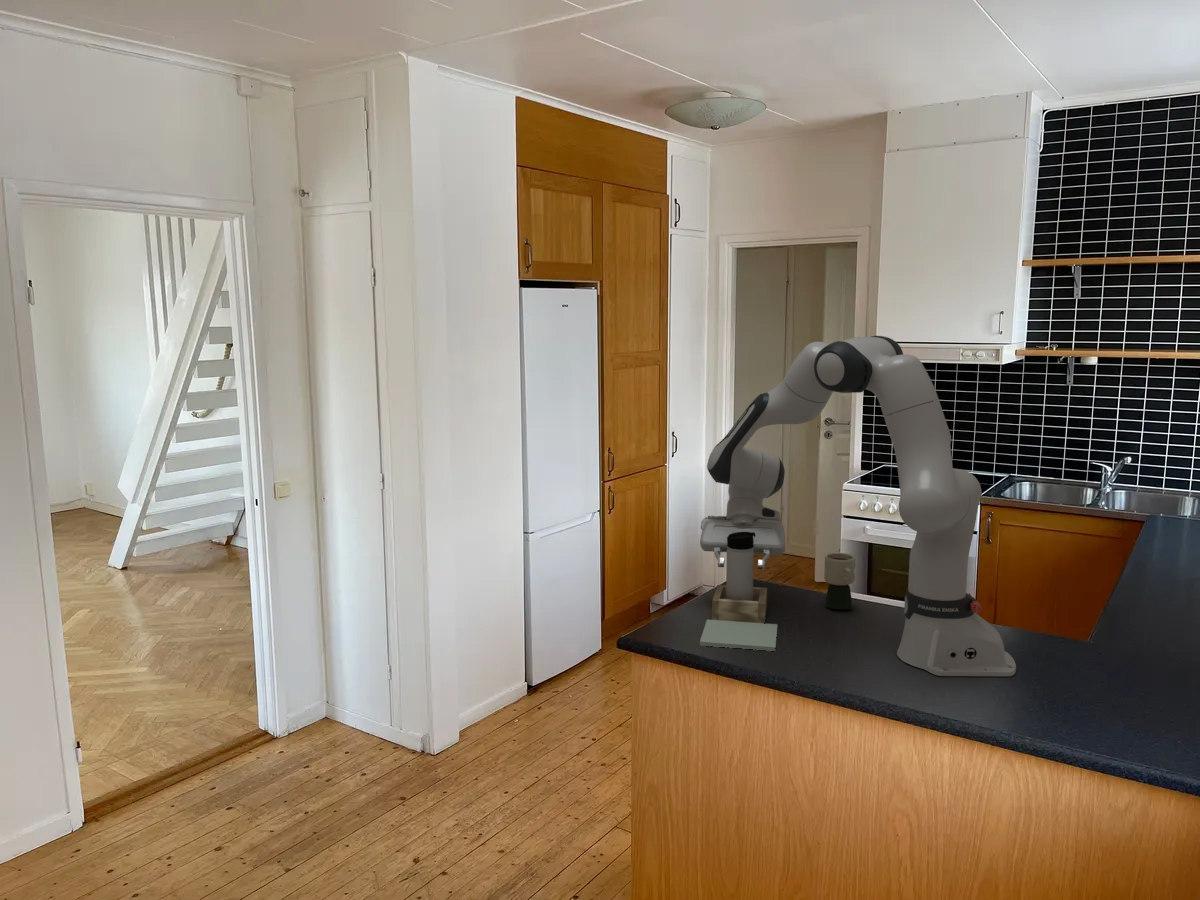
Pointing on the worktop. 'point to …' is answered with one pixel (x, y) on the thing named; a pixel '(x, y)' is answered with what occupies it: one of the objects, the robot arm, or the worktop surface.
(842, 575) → the character mug
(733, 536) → the travel mug
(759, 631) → the sage mat
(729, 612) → the birch holder
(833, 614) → the worktop surface
